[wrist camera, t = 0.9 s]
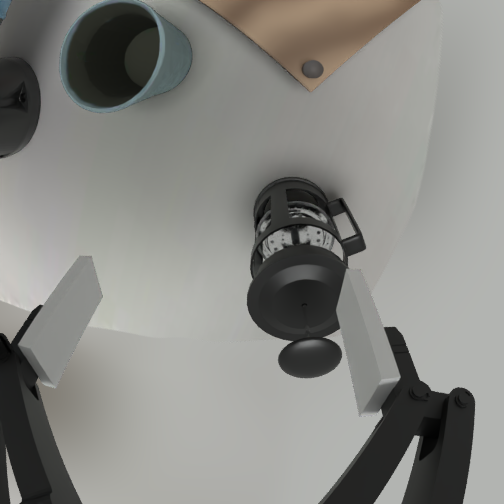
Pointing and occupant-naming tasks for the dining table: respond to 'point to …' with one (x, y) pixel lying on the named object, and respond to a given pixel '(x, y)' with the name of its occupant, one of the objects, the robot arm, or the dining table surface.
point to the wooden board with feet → (310, 30)
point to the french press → (299, 274)
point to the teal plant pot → (121, 56)
